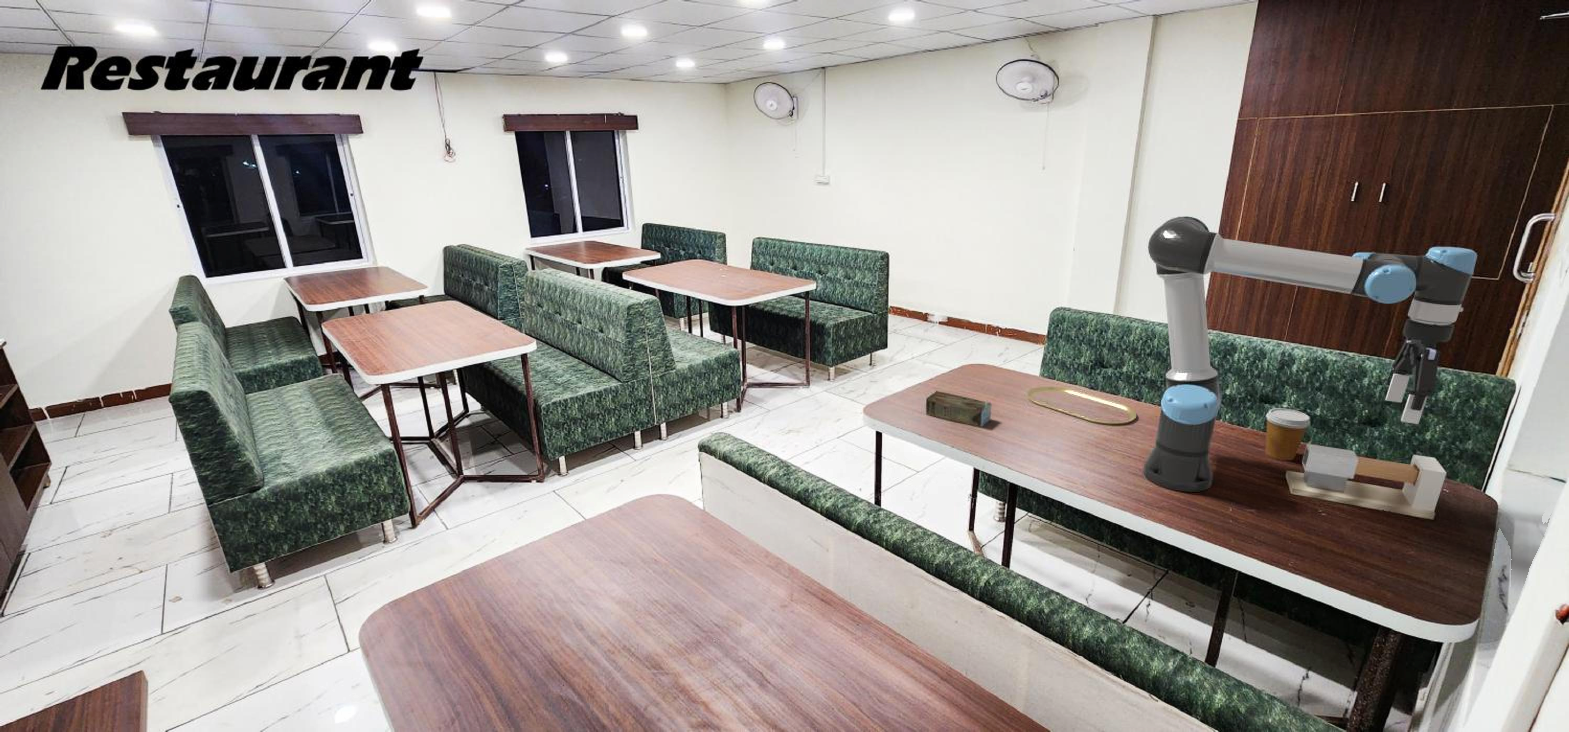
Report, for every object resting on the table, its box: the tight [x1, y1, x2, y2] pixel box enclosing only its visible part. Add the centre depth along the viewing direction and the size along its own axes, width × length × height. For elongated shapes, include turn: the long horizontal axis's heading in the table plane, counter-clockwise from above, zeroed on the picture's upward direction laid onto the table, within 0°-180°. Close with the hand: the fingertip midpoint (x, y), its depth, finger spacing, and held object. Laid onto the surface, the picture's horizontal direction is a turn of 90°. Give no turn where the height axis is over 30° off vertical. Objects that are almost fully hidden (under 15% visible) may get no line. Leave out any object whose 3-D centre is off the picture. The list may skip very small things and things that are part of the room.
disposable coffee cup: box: [1264, 407, 1311, 461], centre depth 173 cm, size 10×10×12 cm
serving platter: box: [1026, 386, 1137, 426], centre depth 212 cm, size 19×35×2 cm, turn 35°
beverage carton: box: [925, 390, 992, 428], centre depth 206 cm, size 8×19×7 cm, turn 52°
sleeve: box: [1301, 443, 1358, 493], centre depth 155 cm, size 9×5×9 cm, turn 60°
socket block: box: [1401, 454, 1447, 513], centre depth 147 cm, size 4×8×10 cm, turn 150°
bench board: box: [1285, 470, 1436, 520], centre depth 154 cm, size 26×10×2 cm, turn 60°
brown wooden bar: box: [1354, 456, 1420, 484], centre depth 150 cm, size 15×3×3 cm, turn 60°
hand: (1400, 411), depth 146 cm, fingers open, 13 cm apart
